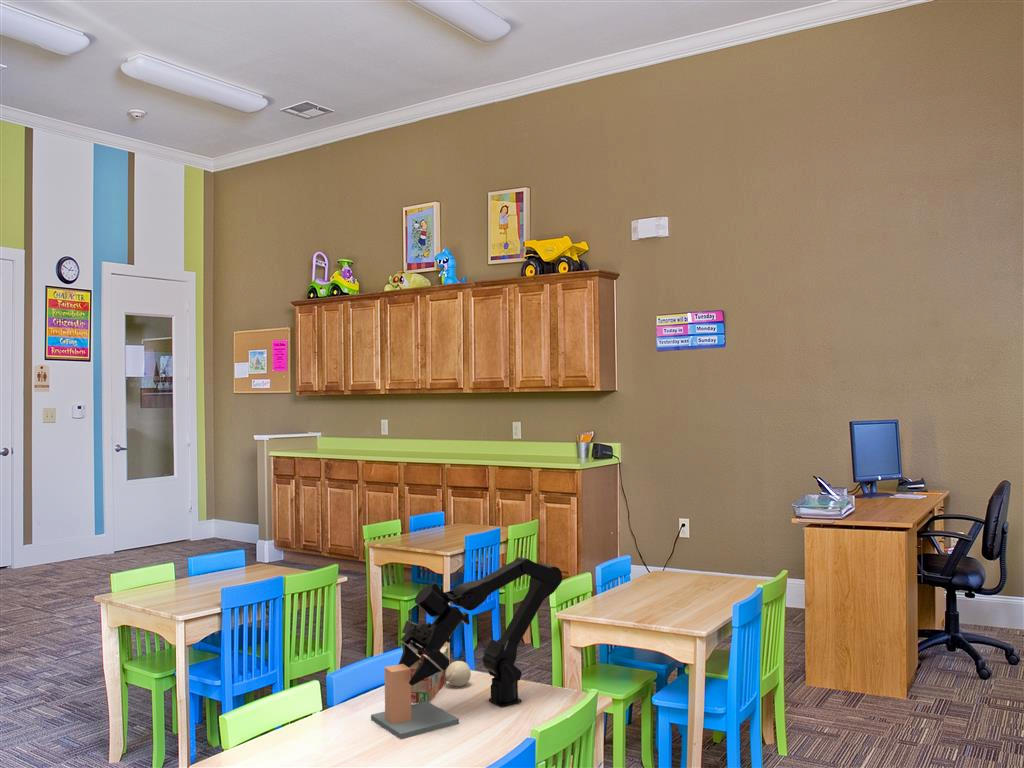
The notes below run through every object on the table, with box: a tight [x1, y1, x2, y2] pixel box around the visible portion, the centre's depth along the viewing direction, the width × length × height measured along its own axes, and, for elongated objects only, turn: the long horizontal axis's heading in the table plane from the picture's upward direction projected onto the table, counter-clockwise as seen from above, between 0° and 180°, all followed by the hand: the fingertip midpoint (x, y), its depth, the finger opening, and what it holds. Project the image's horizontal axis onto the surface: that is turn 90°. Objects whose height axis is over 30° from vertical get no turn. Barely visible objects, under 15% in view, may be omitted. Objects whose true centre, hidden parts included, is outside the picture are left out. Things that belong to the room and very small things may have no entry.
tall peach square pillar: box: [383, 663, 412, 724], centre depth 205 cm, size 5×5×12 cm
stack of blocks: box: [409, 646, 450, 704], centre depth 230 cm, size 21×6×12 cm, turn 170°
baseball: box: [445, 660, 472, 687], centre depth 234 cm, size 7×7×7 cm
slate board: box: [370, 701, 460, 740], centre depth 206 cm, size 16×16×1 cm
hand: (403, 679), depth 206 cm, fingers open, 9 cm apart
